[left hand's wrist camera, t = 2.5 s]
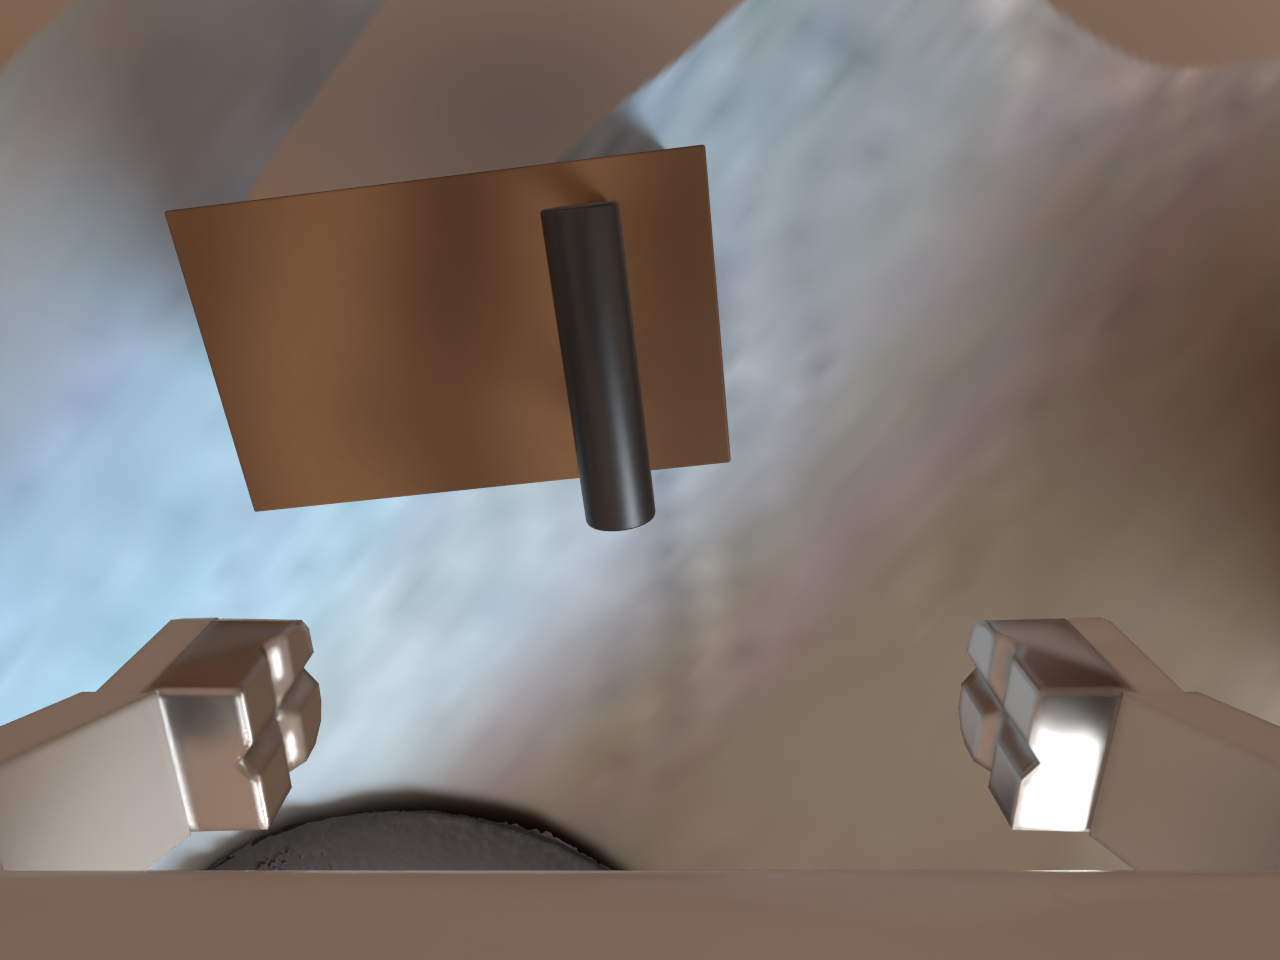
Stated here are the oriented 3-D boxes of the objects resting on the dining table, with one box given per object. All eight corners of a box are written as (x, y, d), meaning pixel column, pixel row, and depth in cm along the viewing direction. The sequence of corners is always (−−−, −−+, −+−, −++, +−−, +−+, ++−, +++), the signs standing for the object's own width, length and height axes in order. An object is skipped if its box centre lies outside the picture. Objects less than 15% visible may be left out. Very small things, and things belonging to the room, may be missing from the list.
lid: (702, 145, 25) (725, 136, 18) (728, 453, 29) (756, 555, 21) (180, 209, 26) (-11, 228, 18) (266, 501, 29) (135, 617, 22)
